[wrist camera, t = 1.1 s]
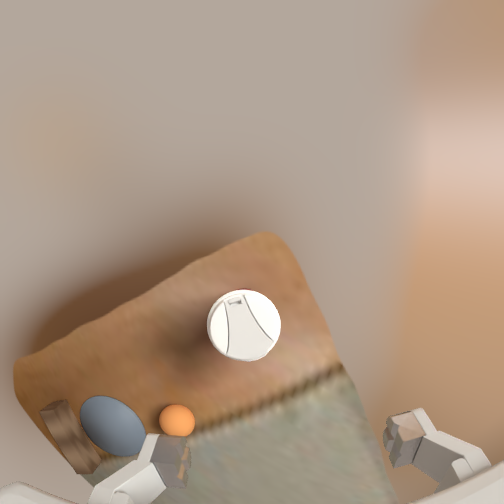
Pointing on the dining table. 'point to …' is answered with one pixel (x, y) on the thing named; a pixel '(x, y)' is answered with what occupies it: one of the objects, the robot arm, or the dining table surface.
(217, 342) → the paper cup
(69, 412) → the block
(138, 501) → the robot arm
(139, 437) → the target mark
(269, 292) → the dining table surface
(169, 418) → the ball
